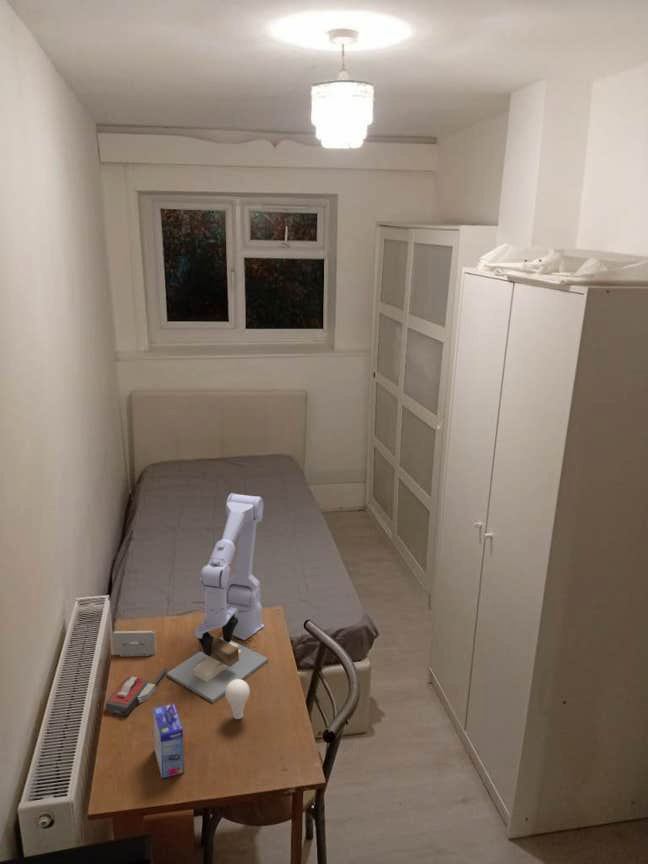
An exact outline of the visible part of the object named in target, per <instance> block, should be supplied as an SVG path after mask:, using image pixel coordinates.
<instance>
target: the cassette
mask: <svg viewBox="0 0 648 864" xmlns="http://www.w3.org/2000/svg"><path fill="white" fill-rule="evenodd" d="M155 634H156V633H155V631H154V630H129V631H128V630H127V631H126V630H125V631H123V630H121V631H120V630H119V631H117V630H116V631H115V630H114V631H113V632H112V634H111V638H112V649H113V656H114V655H120V656H119V657H148V656H155V655H156V654H157V650H156V637H155Z"/></svg>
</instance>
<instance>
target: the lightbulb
mask: <svg viewBox="0 0 648 864" xmlns="http://www.w3.org/2000/svg"><path fill="white" fill-rule="evenodd" d="M250 692H251V691H250V686H249V684H248V683H247V682H246V681H245V680H241V679H235V680H233V681H231V682H230V683H229V684H228V685H227V687H226V690H225V695H224V696H225V698H226V701H227V702H228V703H229V704H230V707H231V711H232V717H233V718H234V719H235V720H240V719H242V718H243V717H244V710H245V704H246V702H247V701H248V699H249V696H250V694H251V693H250Z"/></svg>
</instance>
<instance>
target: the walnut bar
mask: <svg viewBox="0 0 648 864" xmlns="http://www.w3.org/2000/svg"><path fill="white" fill-rule="evenodd" d="M210 635H211V636H213V637H214V639H213V642H212V654H211V656H210V657H212V658H214V659H216V660H218V661H220V662H221V663H223V664H225V665H227V666H229V667H231V666H232V665H233V664H235V663H236V662H238V661H239V651H238V648H237V647H235V646H233V645H231V644H229V643H227V642H225V641H223V640H221V639H219V638H220V637H217V636H214V635H213V634H211V633H210ZM198 650H199V651H198V652H200V651H201V652H203V653H204V651H203V648H202V646H201V643H200V642H199V641H198Z"/></svg>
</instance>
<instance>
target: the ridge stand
mask: <svg viewBox="0 0 648 864" xmlns="http://www.w3.org/2000/svg"><path fill="white" fill-rule="evenodd" d="M218 638H219V639H221V640H223V641H224V639H223V635H222V636H221V637H218ZM225 642H226V641H225ZM227 643H228V642H227ZM229 644H231V645H233V646H235V647H237V648H238V651H239V661H238V662H236V663H235V664H233V665H232V666H231V667H229V666H227V665H225V664H223V663H221V662H220V661H218V660H216V659H214V658H212V657H210V656H207V655H205V654H204V653H203V652H201V651H198V652H197V653H195V654H194V655H192V656H191V657H189V658H188V659H186V660H185V661H183V662H181V663H180V664H178V665H177V666H176V667H173V669H171V670H170V671H168V672H167V673H166V677H168V678H169V677H170V678H169V679H171V680H172V679H173V680H172V681H174V680H175V682H176V683H177V684H180V685H181V686H183V687H184V686H185V688H186V689H188V690H189V691H191V690H192V691H191V692H193V693H195V694H197V695H198V696H200V697H202V698H204V699H206V701H208V702H210V703H211V704H214V703H216V702H217V701H218V700H219V699H221V698H223V697H224V696H226V695H225V690H226V687H227V685H228V684H229V683H230V682H231V681H233V680H235V679H241V680H243V681H245V680H246V679H247V678H248V677H249V676H251V675H253V673H255V672H256V671H258V669H260V668H261V667H262V666H264V665H265V664H267V663H268V662H269V658H268V657H266V656H264V655H262V654H260V653H258V652H256V651H254V650H253V649H250V648H249V647H247V646H244V645H242V644H240V643H238V642H236V641H234V640H232V639H231V642H230V643H229Z"/></svg>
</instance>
